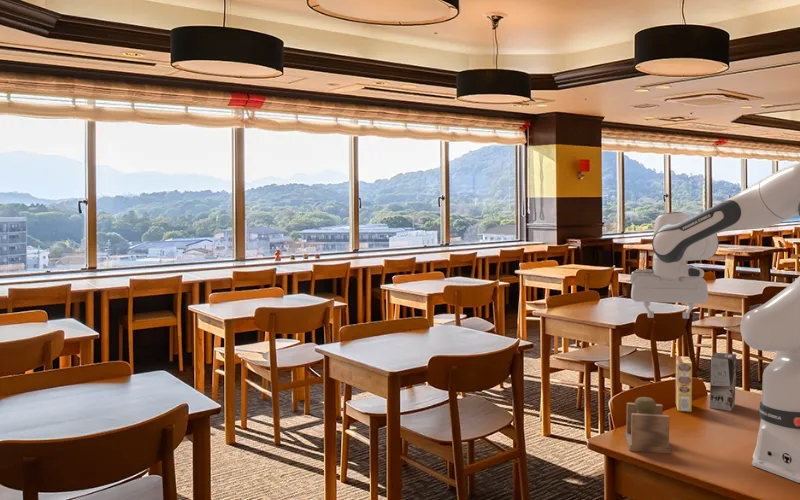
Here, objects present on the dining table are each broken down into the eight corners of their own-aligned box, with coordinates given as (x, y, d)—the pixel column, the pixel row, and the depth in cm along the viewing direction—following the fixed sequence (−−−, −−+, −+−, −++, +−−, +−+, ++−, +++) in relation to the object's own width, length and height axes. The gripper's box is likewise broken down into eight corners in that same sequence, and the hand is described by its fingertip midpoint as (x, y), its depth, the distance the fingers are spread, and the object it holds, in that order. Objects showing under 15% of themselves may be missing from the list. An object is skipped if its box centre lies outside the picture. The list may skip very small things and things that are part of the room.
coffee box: (731, 411, 205) (733, 359, 204) (708, 408, 209) (710, 356, 208) (735, 404, 213) (737, 353, 212) (713, 400, 216) (714, 351, 215)
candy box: (692, 412, 204) (693, 362, 203) (677, 411, 206) (678, 361, 205) (688, 404, 213) (689, 356, 212) (674, 403, 214) (675, 355, 213)
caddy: (662, 438, 181) (663, 404, 181) (670, 453, 171) (671, 417, 170) (624, 436, 183) (624, 402, 183) (629, 450, 173) (630, 414, 172)
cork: (658, 443, 173) (659, 401, 173) (634, 442, 175) (634, 400, 174) (654, 435, 179) (655, 395, 179) (631, 434, 181) (631, 394, 180)
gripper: (632, 270, 188) (631, 318, 189) (710, 271, 184) (708, 320, 185) (629, 267, 195) (628, 315, 196) (704, 269, 191) (703, 317, 191)
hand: (668, 318), depth 190 cm, fingers open, 8 cm apart
